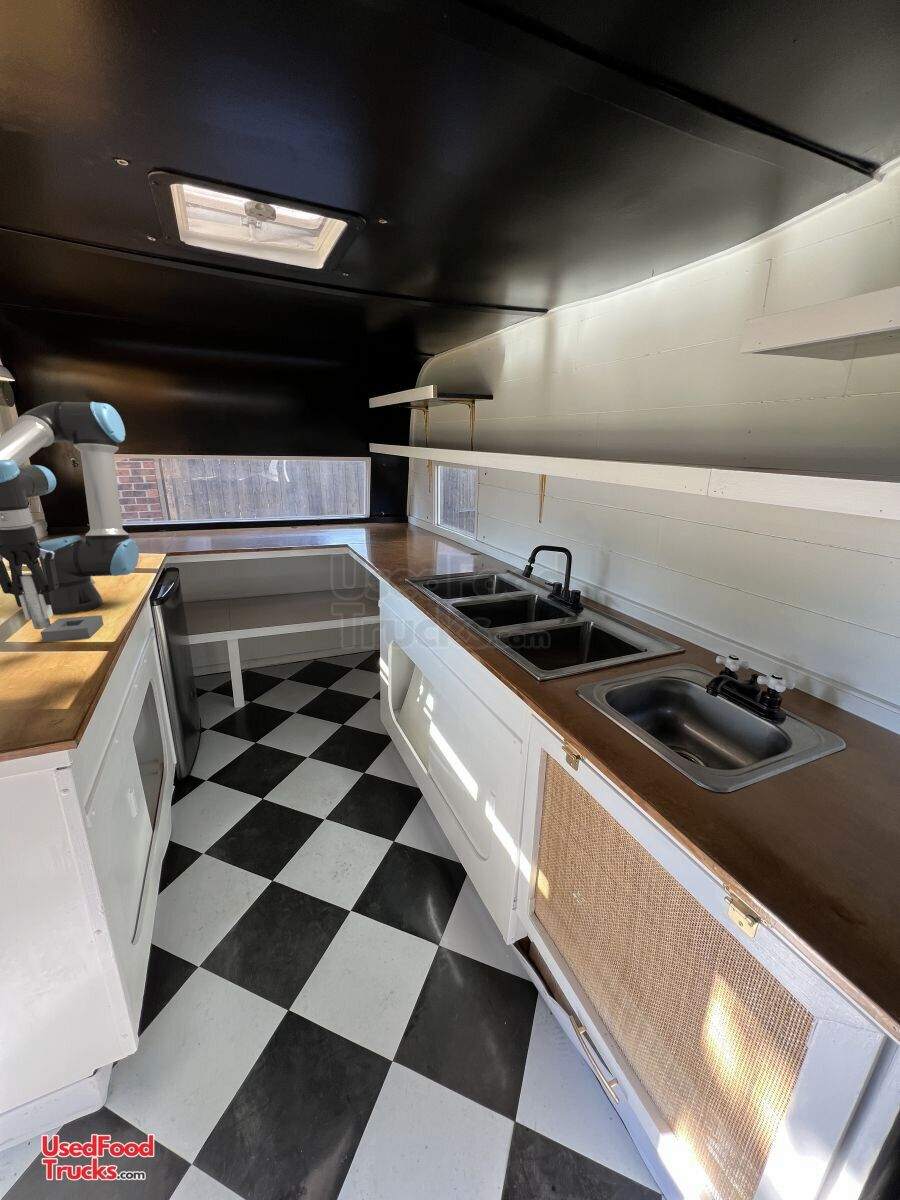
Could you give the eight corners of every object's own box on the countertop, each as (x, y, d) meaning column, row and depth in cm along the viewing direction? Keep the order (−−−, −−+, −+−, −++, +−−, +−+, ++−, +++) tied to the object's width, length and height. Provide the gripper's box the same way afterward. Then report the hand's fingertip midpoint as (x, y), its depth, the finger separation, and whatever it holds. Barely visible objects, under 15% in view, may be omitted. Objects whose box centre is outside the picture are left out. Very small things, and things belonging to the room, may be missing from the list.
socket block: (60, 628, 143) (58, 618, 142) (103, 624, 146) (101, 615, 145) (43, 642, 133) (40, 632, 132) (89, 638, 136) (87, 628, 135)
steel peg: (37, 624, 126) (22, 573, 121) (53, 623, 127) (38, 572, 122) (31, 629, 123) (15, 577, 118) (47, 628, 124) (32, 576, 119)
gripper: (-39, 531, 111) (-8, 626, 118) (46, 528, 115) (71, 619, 123) (-20, 525, 117) (8, 615, 125) (60, 522, 122) (82, 609, 130)
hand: (39, 617), depth 124 cm, fingers closed on steel peg, 3 cm apart
